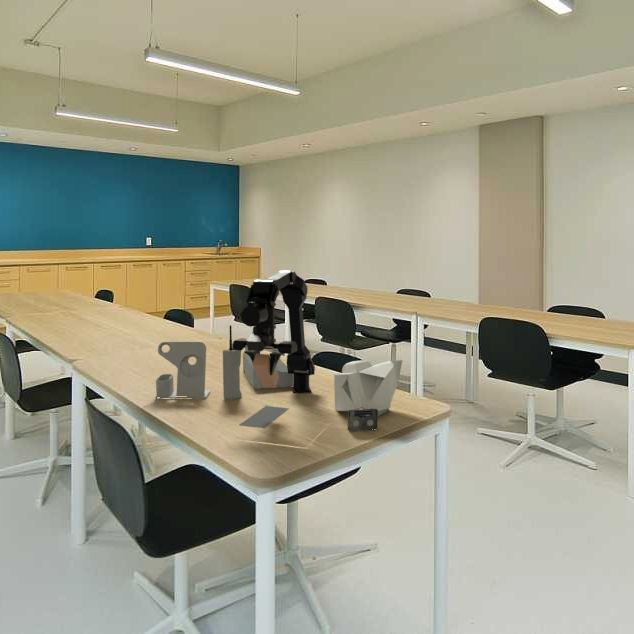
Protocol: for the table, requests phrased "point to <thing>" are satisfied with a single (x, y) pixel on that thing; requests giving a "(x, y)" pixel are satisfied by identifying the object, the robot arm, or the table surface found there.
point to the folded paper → (366, 385)
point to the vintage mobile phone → (231, 372)
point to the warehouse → (249, 370)
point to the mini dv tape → (362, 419)
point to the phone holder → (184, 371)
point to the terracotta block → (265, 370)
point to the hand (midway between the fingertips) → (264, 374)
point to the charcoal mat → (264, 417)
